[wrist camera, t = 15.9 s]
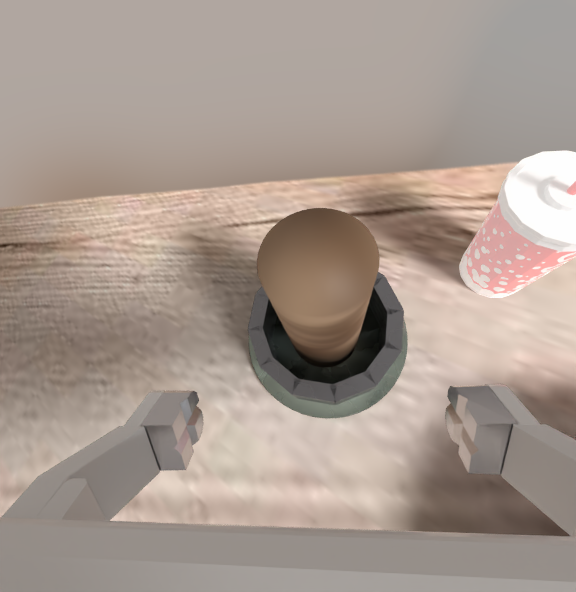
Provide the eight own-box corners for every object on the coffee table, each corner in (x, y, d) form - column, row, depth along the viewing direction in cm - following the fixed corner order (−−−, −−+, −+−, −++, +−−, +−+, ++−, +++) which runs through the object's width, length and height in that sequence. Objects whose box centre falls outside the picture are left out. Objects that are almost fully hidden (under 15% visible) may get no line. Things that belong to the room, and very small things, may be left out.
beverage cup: (464, 313, 24) (620, 182, 11) (438, 245, 26) (540, 71, 13) (548, 299, 23) (816, 145, 10) (514, 231, 26) (696, 37, 13)
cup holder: (279, 444, 22) (267, 448, 18) (233, 298, 27) (216, 277, 23) (437, 381, 22) (458, 372, 18) (363, 247, 27) (368, 218, 23)
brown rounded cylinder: (305, 377, 23) (279, 335, 12) (282, 317, 25) (242, 233, 14) (369, 352, 23) (402, 287, 12) (341, 294, 25) (347, 192, 14)
